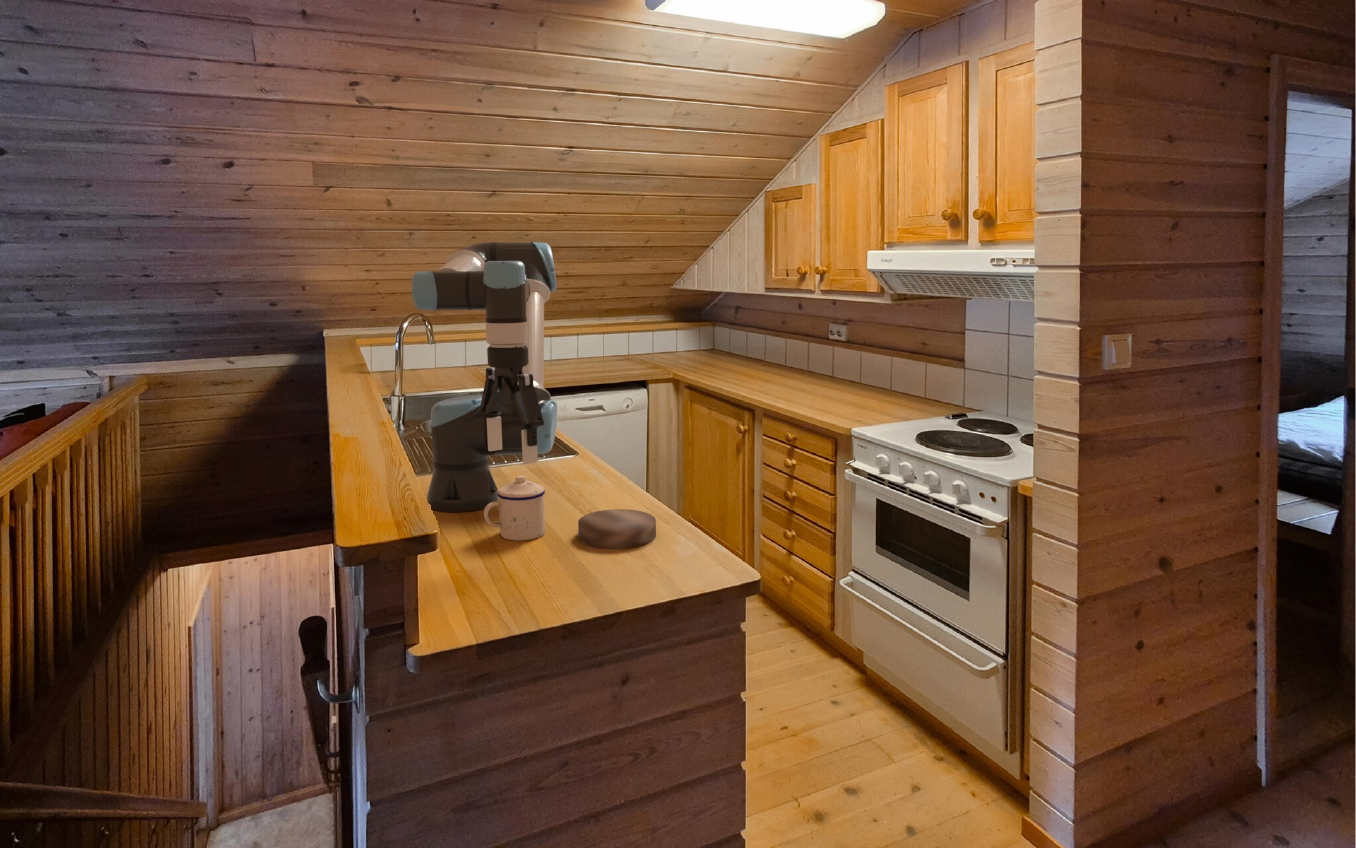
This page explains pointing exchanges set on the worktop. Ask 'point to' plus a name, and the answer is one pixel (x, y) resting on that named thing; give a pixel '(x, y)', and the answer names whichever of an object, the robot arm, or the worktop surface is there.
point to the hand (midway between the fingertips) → (512, 456)
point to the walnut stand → (617, 528)
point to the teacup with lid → (519, 510)
